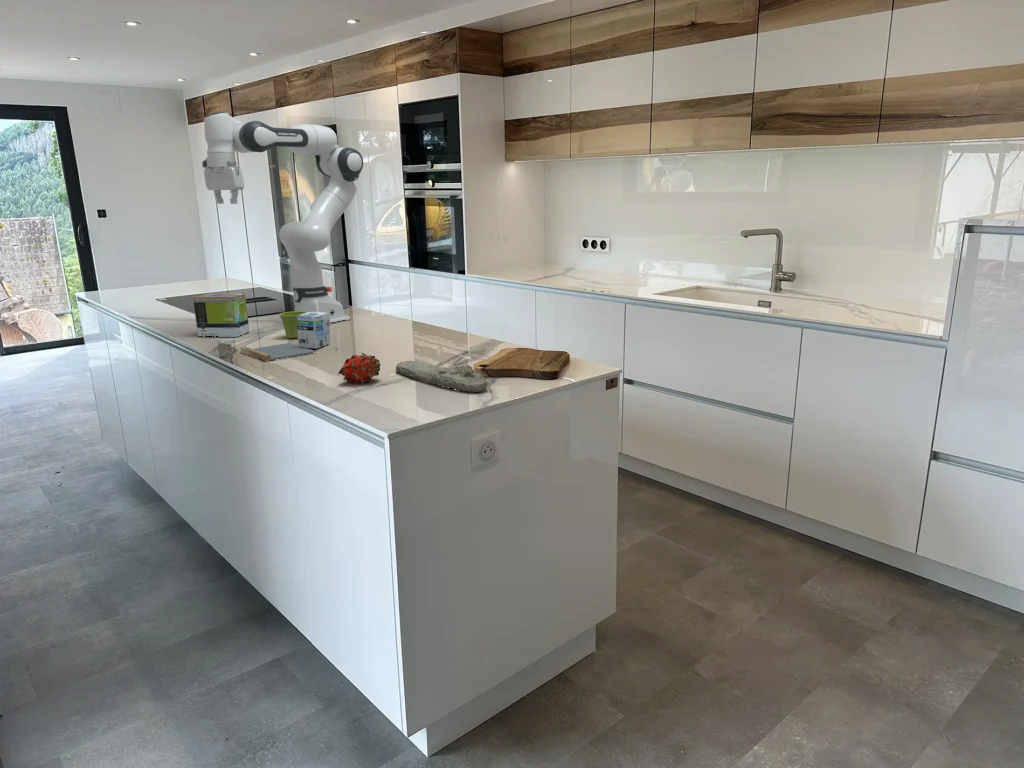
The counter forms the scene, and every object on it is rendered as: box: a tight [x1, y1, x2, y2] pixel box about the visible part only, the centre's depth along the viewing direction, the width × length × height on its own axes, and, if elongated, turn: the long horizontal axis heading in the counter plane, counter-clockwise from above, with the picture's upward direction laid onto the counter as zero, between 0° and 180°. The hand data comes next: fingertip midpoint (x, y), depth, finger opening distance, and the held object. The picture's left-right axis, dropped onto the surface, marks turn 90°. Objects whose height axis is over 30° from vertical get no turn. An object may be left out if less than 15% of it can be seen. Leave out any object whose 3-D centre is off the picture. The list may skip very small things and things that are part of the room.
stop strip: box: [240, 346, 271, 362], centre depth 218 cm, size 2×18×2 cm, turn 45°
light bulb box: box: [297, 311, 331, 349], centre depth 231 cm, size 11×7×11 cm, turn 168°
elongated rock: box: [395, 360, 489, 393], centre depth 189 cm, size 35×5×10 cm
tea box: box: [192, 292, 250, 338], centre depth 250 cm, size 15×10×15 cm, turn 84°
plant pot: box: [278, 310, 307, 339], centre depth 246 cm, size 9×9×9 cm
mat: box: [253, 342, 317, 361], centre depth 224 cm, size 15×18×1 cm
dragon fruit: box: [337, 352, 382, 385], centre depth 188 cm, size 8×8×12 cm
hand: (227, 203), depth 242 cm, fingers open, 8 cm apart
